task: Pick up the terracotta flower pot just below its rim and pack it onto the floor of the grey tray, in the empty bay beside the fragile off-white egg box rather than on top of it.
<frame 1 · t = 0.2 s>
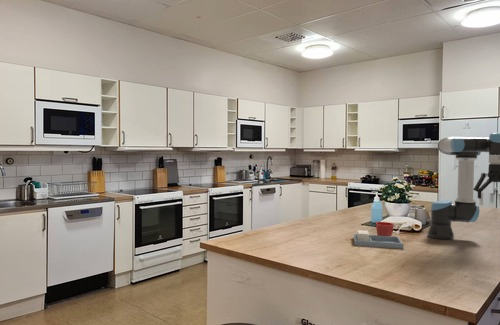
hand: (496, 205, 185), 28 cm above the counter, fingers open, 13 cm apart
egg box: (362, 242, 217), point 1 cm above the counter, touching grey tray
flower pot: (384, 238, 231), on the counter
grey tray: (377, 244, 216), on the counter
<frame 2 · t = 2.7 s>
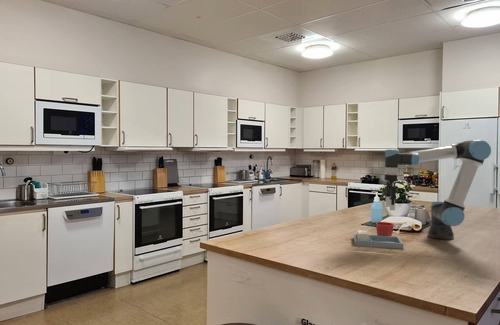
hand: (389, 208, 227), 19 cm above the counter, fingers open, 13 cm apart
nothing on the counter moved.
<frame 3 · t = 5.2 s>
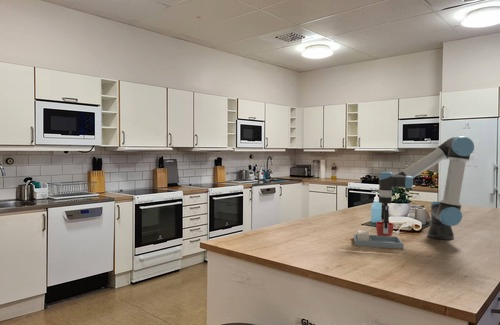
hand: (384, 231, 231), 4 cm above the counter, fingers closed on flower pot, 11 cm apart
flower pot: (384, 238, 231), on the counter, touching gripper
everything else where it was.
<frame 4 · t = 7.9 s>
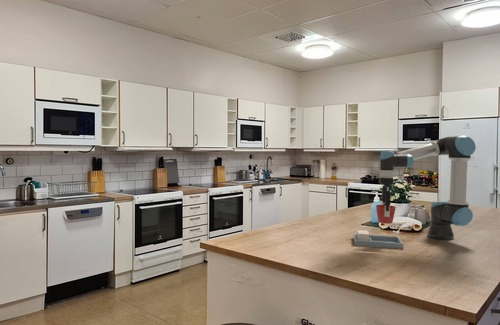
hand: (385, 215, 214), 18 cm above the counter, fingers closed on flower pot, 11 cm apart
flower pot: (385, 222, 214), point 13 cm above the counter, touching gripper
everything else where it was.
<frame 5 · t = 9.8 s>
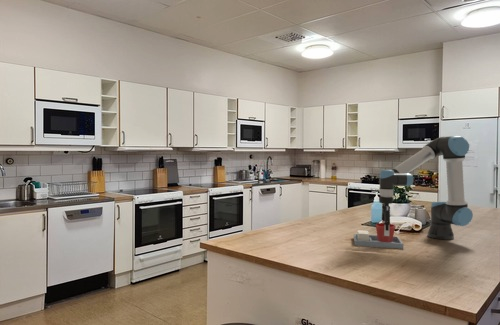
hand: (385, 233, 214), 7 cm above the counter, fingers closed on flower pot, 11 cm apart
flower pot: (385, 241, 215), point 2 cm above the counter, touching gripper
everything else where it was.
when the fingers open (6 cm above the counter, at t = 10.9 s): flower pot stays where it is, resting on grey tray.
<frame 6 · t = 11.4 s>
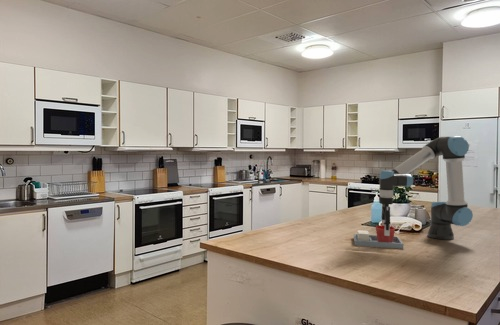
hand: (385, 233, 214), 7 cm above the counter, fingers open, 13 cm apart
flower pot: (385, 244, 214), point 1 cm above the counter, touching grey tray
everything else where it was.
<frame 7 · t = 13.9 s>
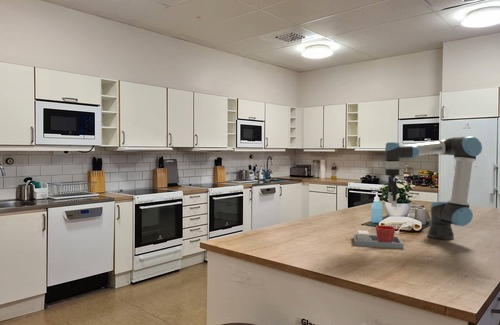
hand: (392, 204, 215), 24 cm above the counter, fingers open, 13 cm apart
nothing on the counter moved.
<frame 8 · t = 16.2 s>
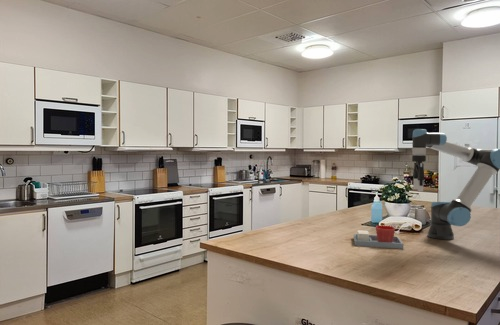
hand: (418, 190, 221), 32 cm above the counter, fingers open, 13 cm apart
nothing on the counter moved.
at the end: flower pot inside the target area on the grey tray (0.1 cm from its centre), point 0.6 cm above the grey tray's base; flower pot tilted 0°; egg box moved 0.0 cm from its start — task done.
